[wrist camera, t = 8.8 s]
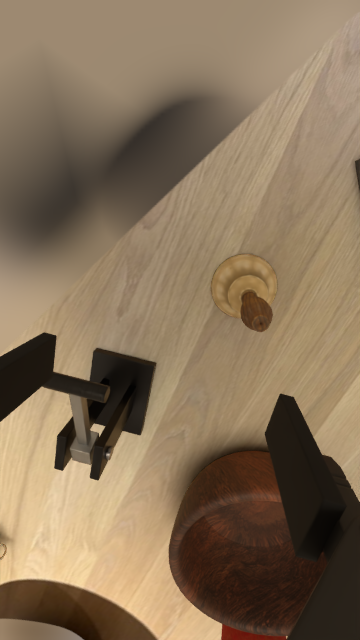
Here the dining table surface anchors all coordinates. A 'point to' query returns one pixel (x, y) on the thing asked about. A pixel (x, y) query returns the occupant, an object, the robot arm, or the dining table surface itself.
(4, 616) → the dining table surface
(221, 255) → the dining table surface
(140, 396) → the bracket
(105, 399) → the lever
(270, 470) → the wooden bowl
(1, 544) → the chinaware
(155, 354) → the dining table surface
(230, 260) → the hand bell
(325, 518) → the robot arm
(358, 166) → the push button switch
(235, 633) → the apple
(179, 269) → the dining table surface
